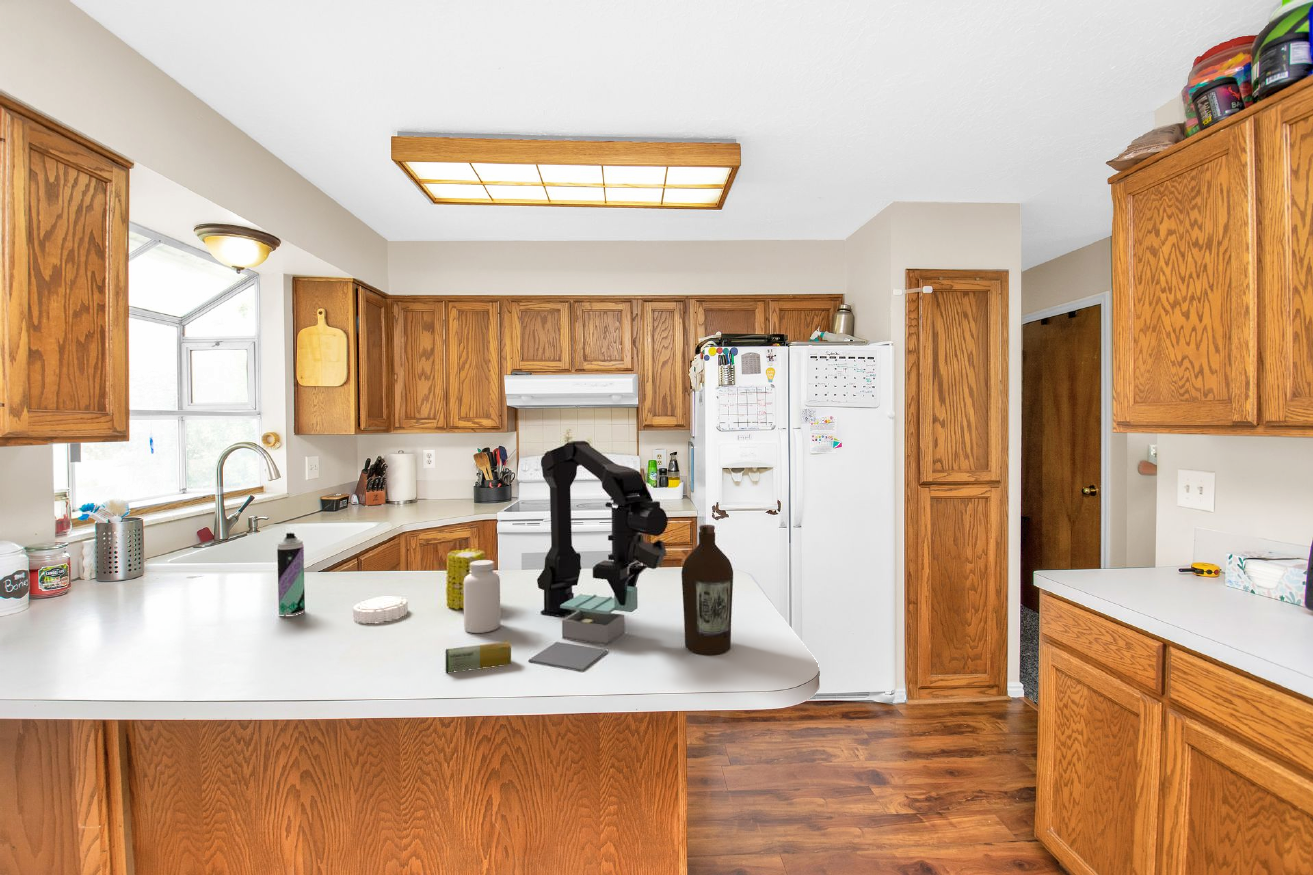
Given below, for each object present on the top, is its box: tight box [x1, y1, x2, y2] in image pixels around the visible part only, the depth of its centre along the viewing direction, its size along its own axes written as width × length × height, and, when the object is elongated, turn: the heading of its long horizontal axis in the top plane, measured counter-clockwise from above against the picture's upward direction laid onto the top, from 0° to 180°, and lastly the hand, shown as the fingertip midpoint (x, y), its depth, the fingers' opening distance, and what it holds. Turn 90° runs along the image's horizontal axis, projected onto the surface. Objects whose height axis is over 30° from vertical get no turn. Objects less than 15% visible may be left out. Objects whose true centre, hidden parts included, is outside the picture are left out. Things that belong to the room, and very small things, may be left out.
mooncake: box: [352, 595, 409, 624], centre depth 141 cm, size 12×12×4 cm
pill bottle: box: [463, 559, 501, 634], centre depth 131 cm, size 8×8×15 cm
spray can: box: [276, 532, 306, 616], centre depth 143 cm, size 6×6×20 cm
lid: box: [560, 586, 639, 614], centre depth 125 cm, size 16×9×5 cm, turn 67°
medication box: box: [444, 641, 512, 674], centre depth 110 cm, size 12×3×4 cm, turn 110°
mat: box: [528, 641, 608, 672], centre depth 115 cm, size 12×10×1 cm
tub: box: [561, 610, 626, 646], centre depth 126 cm, size 11×8×4 cm
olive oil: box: [681, 524, 734, 656], centre depth 119 cm, size 11×11×25 cm
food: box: [445, 547, 486, 611], centre depth 148 cm, size 15×12×10 cm
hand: (625, 602), depth 123 cm, fingers closed on lid, 3 cm apart
